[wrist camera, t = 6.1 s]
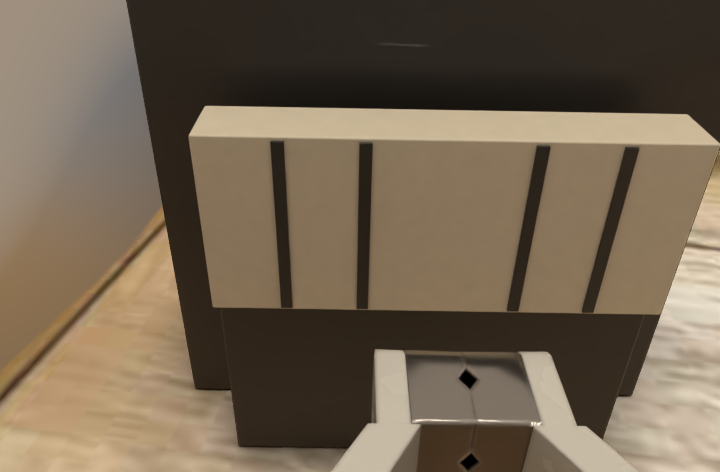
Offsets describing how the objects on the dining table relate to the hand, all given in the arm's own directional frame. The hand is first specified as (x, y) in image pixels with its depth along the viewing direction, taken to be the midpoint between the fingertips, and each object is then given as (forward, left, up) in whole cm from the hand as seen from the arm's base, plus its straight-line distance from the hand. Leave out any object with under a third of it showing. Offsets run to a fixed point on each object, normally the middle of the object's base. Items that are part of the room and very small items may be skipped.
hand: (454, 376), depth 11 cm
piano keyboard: (+6, +1, -3) cm, 7 cm away
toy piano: (+10, +2, -9) cm, 14 cm away
